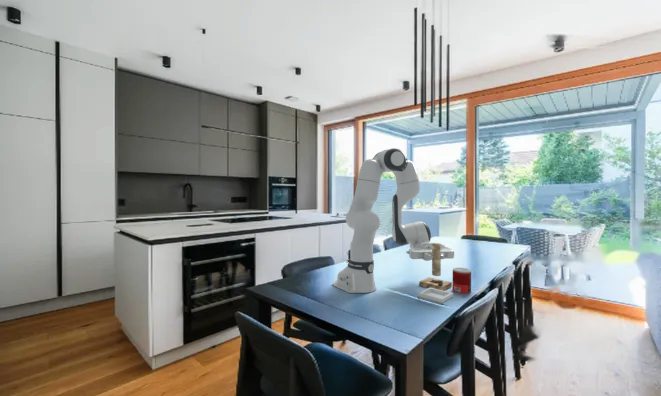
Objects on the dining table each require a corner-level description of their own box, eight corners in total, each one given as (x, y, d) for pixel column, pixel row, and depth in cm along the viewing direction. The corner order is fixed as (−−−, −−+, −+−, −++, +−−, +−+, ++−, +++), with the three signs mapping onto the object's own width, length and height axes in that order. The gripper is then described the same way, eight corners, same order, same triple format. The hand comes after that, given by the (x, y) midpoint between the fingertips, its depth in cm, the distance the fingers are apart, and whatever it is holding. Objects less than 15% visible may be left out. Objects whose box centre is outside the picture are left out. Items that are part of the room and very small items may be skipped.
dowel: (430, 274, 133) (430, 243, 132) (434, 273, 135) (434, 242, 135) (438, 276, 130) (438, 244, 130) (442, 274, 133) (442, 243, 132)
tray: (418, 298, 133) (418, 292, 133) (430, 292, 141) (430, 287, 141) (442, 305, 125) (442, 299, 125) (453, 298, 133) (453, 293, 133)
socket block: (419, 287, 148) (419, 277, 148) (428, 282, 155) (429, 273, 155) (442, 293, 140) (442, 282, 140) (451, 288, 147) (451, 278, 147)
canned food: (472, 296, 136) (473, 272, 136) (454, 295, 138) (454, 271, 137) (468, 290, 143) (468, 268, 143) (451, 289, 145) (451, 267, 145)
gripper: (405, 244, 145) (413, 250, 131) (446, 244, 146) (459, 250, 132) (405, 257, 145) (413, 264, 131) (446, 257, 146) (459, 264, 132)
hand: (437, 257), depth 132 cm, fingers closed on dowel, 4 cm apart
